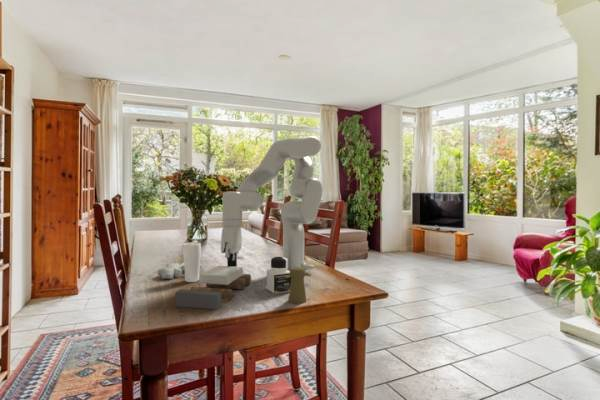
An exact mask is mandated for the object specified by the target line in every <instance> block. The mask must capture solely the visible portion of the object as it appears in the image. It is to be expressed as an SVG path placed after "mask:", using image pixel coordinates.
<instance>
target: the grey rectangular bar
mask: <svg viewBox="0 0 600 400" xmlns="http://www.w3.org/2000/svg"><path fill="white" fill-rule="evenodd" d="M222 303H223V302H222V292H212V291H198V290H190V289H185V288H184V289H179V290H177V291H175V307H180V308H181V307H183V308H195V309H204V310H205V309H206V310H216V311H217V310H219V309H220V308H222V305H223V304H222Z"/></svg>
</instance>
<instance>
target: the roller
mask: <svg viewBox="0 0 600 400" xmlns="http://www.w3.org/2000/svg"><path fill="white" fill-rule="evenodd" d="M189 290H198V291H212V292H222V298H226V299H228V301H231V300H232V299H233V297H232V296H233V294H234V291H233V290H234V289H229V288H215V287H207V286H206V287H205V286H192V287H191V288H190V289H189Z"/></svg>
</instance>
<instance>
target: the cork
mask: <svg viewBox="0 0 600 400" xmlns="http://www.w3.org/2000/svg"><path fill="white" fill-rule="evenodd" d="M290 276H291V285H290V292H288V302H289V303H291V304H294V305H295V304H299V305H300V304H305V303H307V294H306V285H305V276H306V273H305V270H304V268H301V267H294V268H292V269H291V270H290Z"/></svg>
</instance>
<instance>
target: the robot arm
mask: <svg viewBox="0 0 600 400" xmlns="http://www.w3.org/2000/svg"><path fill="white" fill-rule="evenodd" d="M320 141H321V140H320V139H319V137H316V136H314V135H308V136H301V137H295V138H294V137H293V138H285V139H279V140H276V141H274V142H272V144H271V146H270V147H269V149H268V151H266V154H265V155H264V157H263V159H262V160H261V161H260V163H259V164H258V166H257V167H256V168H255V169H254V170H253V171H252V172H251V173H250V174H249V175H247V177H245V179H243V181H241V183H240V185H239V186H238V187H237V190H236V191H224V192H223V193H222V221H221V222H222V226H221V227H222V229H221V230H222V231H221V237H220V238H221V240H220V253H222V254H224V257H225V258H226V261H227V265H226V266H234V267H238V261H237V260H238V254H239V253H240V250H242V247H243V246H242V244H243V241H242V239H243V237H242V227H243V210H247V211H248V210H249V211H256V210H258V209H260V208H261V207H262V206H263V204H264V197H263V195H262V194H261V193H259V192H257V190H258V189H260V188H261V187H262V186H264V185H267V184H268V183H269V182H272V181H273V180H275V179H276V178H277V176H278V174H279V173H280V171H281V169H282V167H283V166H284V164H285V163H286V161H287V160H293V161H294V162H293V163H294V166H295V167H294V172H293V175H292V179H291V183H290V187H289V194H290V196H291V197H292V198H294V199H297V200H290V201H287V202H285V203H284V204H283V205H282V207H281V209H280V216H281V222H282V257H285V258H287V259H288V269H287V270H288V271H290V270H291V269H292V268H294V267H301V268H304V270H305V274H307V273H308V272H309V271H308V270H315V268H314V267H315V265H314V264H310V263H309V264H308V263H307V261H306V260H305V228H304V225H311V224H313V222H315V220H316V219H317V216H318V213H319V209H320V205H321V201H322V196H323V186H322V183H321V181H320V180H319V179H318V178H316V177H313V176H314V167H315V166H314V163H313V161H312V158H311V157H313V156H316V155H318V154H319V152H320V151H321V148H322V144H321V142H320ZM299 200H301V201H299Z"/></svg>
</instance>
